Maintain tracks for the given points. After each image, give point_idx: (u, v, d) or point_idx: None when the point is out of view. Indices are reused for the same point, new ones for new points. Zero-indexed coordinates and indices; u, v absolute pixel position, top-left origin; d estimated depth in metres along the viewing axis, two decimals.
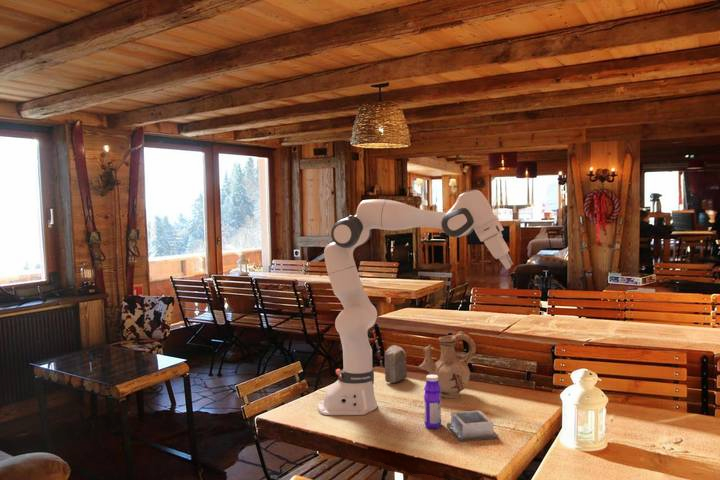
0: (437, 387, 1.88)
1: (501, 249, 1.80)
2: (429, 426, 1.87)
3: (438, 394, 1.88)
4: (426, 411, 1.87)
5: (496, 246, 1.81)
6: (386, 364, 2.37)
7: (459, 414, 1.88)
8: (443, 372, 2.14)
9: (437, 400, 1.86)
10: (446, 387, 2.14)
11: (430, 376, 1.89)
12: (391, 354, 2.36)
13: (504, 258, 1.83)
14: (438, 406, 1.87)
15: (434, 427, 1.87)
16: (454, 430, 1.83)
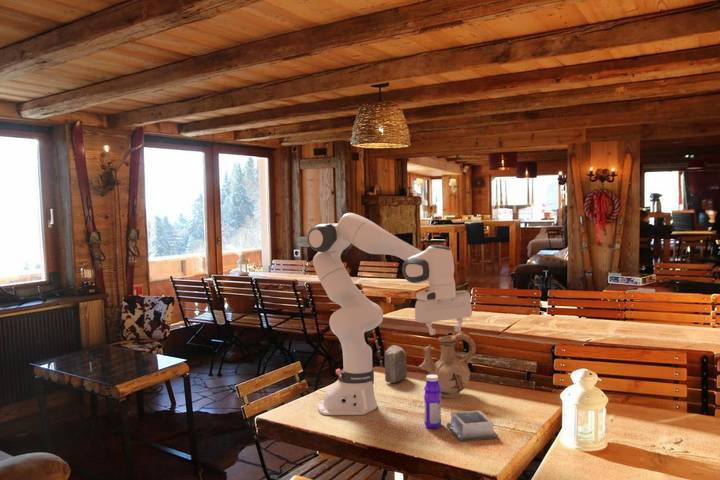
0: (437, 387, 1.88)
1: (419, 316, 1.83)
2: (429, 426, 1.87)
3: (438, 394, 1.88)
4: (426, 411, 1.87)
5: (417, 312, 1.84)
6: (386, 364, 2.37)
7: (459, 414, 1.88)
8: (443, 372, 2.14)
9: (437, 400, 1.86)
10: (446, 387, 2.14)
11: (430, 376, 1.89)
12: (391, 354, 2.36)
13: (427, 324, 1.85)
14: (438, 406, 1.87)
15: (434, 427, 1.87)
16: (454, 430, 1.83)
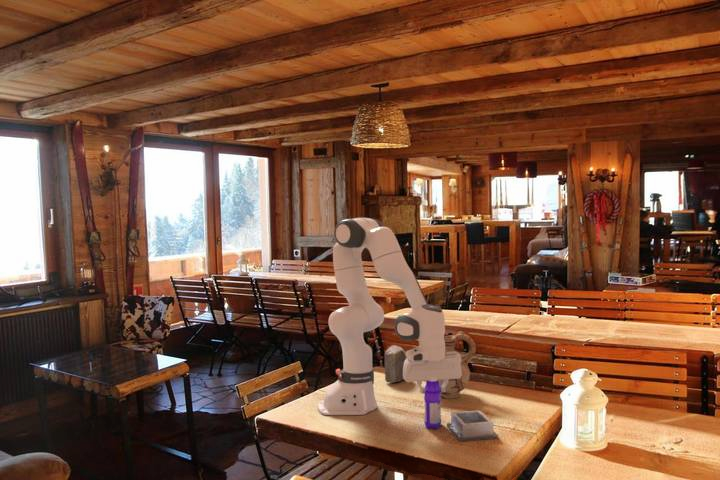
0: (437, 387, 1.88)
1: (405, 376, 1.86)
2: (429, 426, 1.87)
3: (438, 394, 1.88)
4: (426, 411, 1.87)
5: (404, 370, 1.87)
6: (386, 364, 2.37)
7: (459, 414, 1.88)
8: None
9: (437, 400, 1.86)
10: (446, 387, 2.14)
11: None
12: (391, 354, 2.36)
13: (417, 383, 1.88)
14: (438, 406, 1.87)
15: (434, 427, 1.87)
16: (454, 430, 1.83)
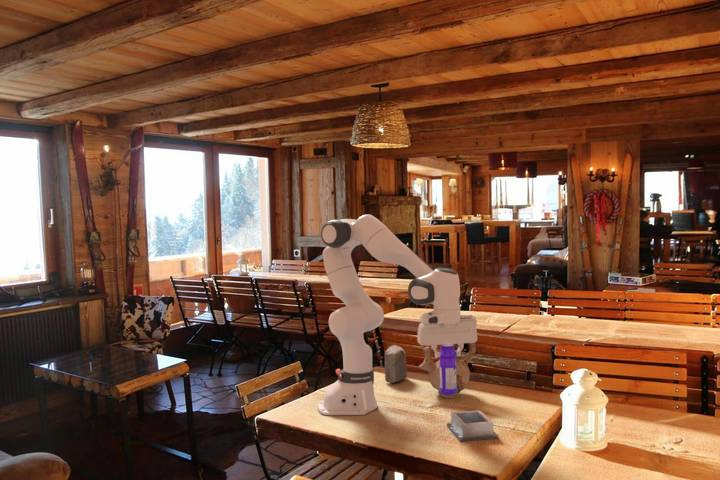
0: (453, 352, 1.84)
1: (419, 339, 1.83)
2: (445, 392, 1.84)
3: (454, 359, 1.84)
4: (442, 377, 1.84)
5: (419, 334, 1.84)
6: (386, 364, 2.37)
7: (459, 414, 1.88)
8: None
9: (453, 365, 1.83)
10: None
11: None
12: (391, 354, 2.36)
13: (432, 347, 1.85)
14: (454, 371, 1.83)
15: (450, 393, 1.83)
16: (454, 430, 1.83)
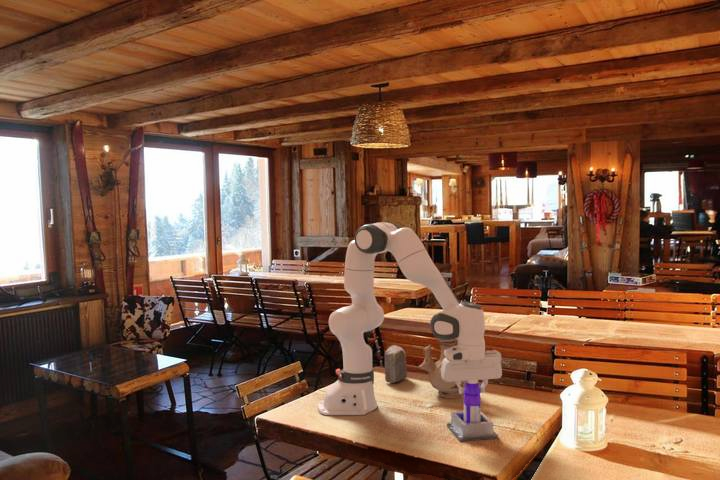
0: (477, 389, 1.81)
1: (444, 375, 1.80)
2: None
3: (478, 397, 1.81)
4: (466, 414, 1.81)
5: (443, 370, 1.81)
6: (386, 364, 2.37)
7: (459, 414, 1.88)
8: None
9: (478, 403, 1.80)
10: (446, 387, 2.14)
11: None
12: (391, 354, 2.36)
13: (456, 383, 1.82)
14: (479, 409, 1.80)
15: None
16: (454, 430, 1.83)
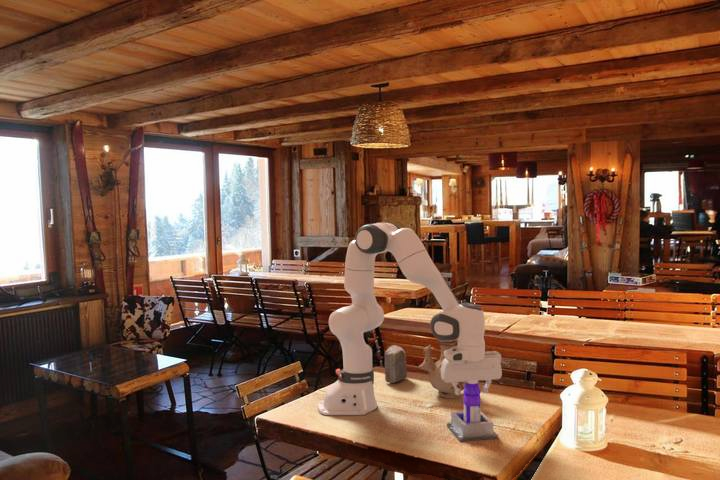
0: (477, 390, 1.81)
1: (443, 376, 1.80)
2: None
3: (478, 397, 1.81)
4: (466, 415, 1.81)
5: (443, 371, 1.81)
6: (386, 364, 2.37)
7: (459, 414, 1.88)
8: None
9: (478, 403, 1.80)
10: (446, 387, 2.14)
11: None
12: (391, 354, 2.36)
13: (453, 384, 1.82)
14: (479, 409, 1.80)
15: None
16: (454, 430, 1.83)
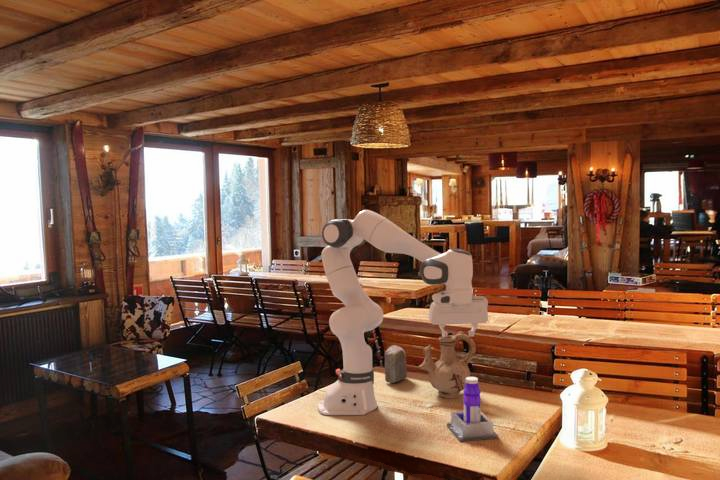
0: (477, 390, 1.81)
1: (431, 318, 1.85)
2: None
3: (478, 397, 1.81)
4: (466, 415, 1.81)
5: (431, 313, 1.86)
6: (386, 364, 2.37)
7: (459, 414, 1.88)
8: (443, 372, 2.14)
9: (478, 403, 1.80)
10: (446, 387, 2.14)
11: (470, 378, 1.82)
12: (391, 354, 2.36)
13: (440, 326, 1.87)
14: (479, 409, 1.80)
15: None
16: (454, 430, 1.83)
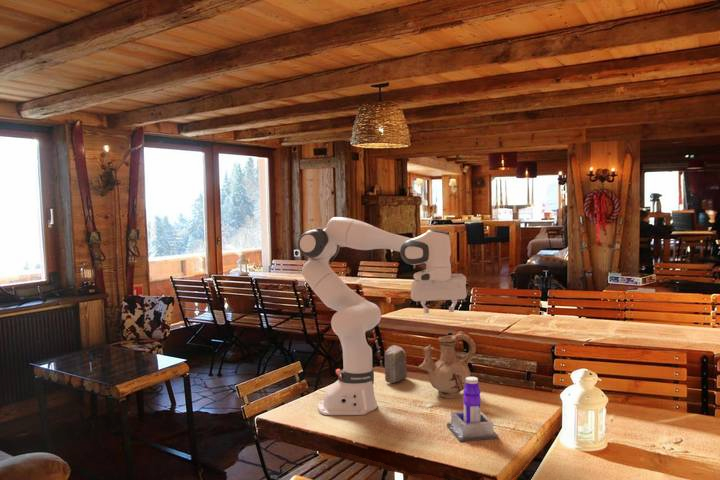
0: (477, 390, 1.81)
1: (413, 295, 1.97)
2: None
3: (478, 397, 1.81)
4: (466, 415, 1.81)
5: (412, 290, 1.97)
6: (386, 364, 2.37)
7: (459, 414, 1.88)
8: (443, 372, 2.14)
9: (478, 403, 1.80)
10: (446, 387, 2.14)
11: (470, 378, 1.82)
12: (391, 354, 2.36)
13: (421, 303, 1.98)
14: (479, 409, 1.80)
15: None
16: (454, 430, 1.83)
